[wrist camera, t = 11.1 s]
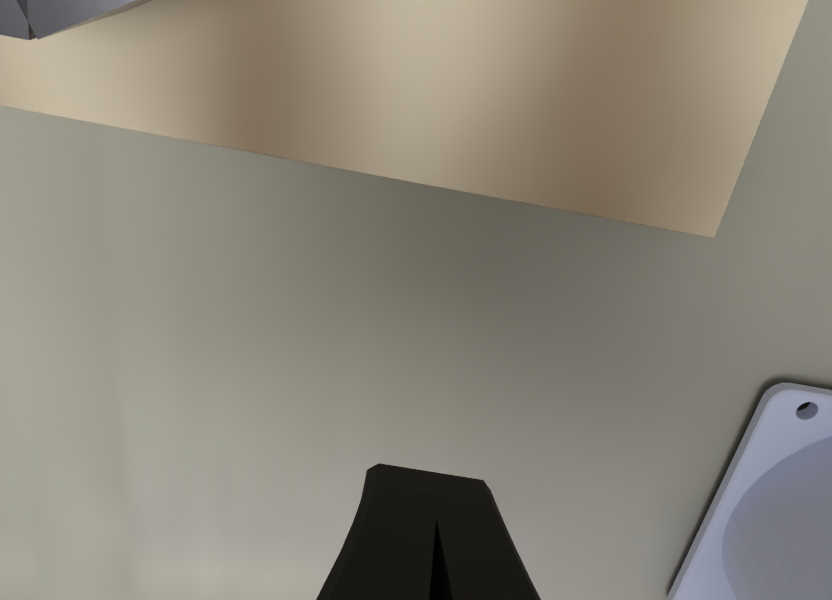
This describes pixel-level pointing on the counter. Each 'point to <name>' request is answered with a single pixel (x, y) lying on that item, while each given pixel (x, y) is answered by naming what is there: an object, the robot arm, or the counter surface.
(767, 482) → the robot arm
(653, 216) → the board
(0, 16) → the sleeve
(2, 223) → the counter surface
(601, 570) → the counter surface
